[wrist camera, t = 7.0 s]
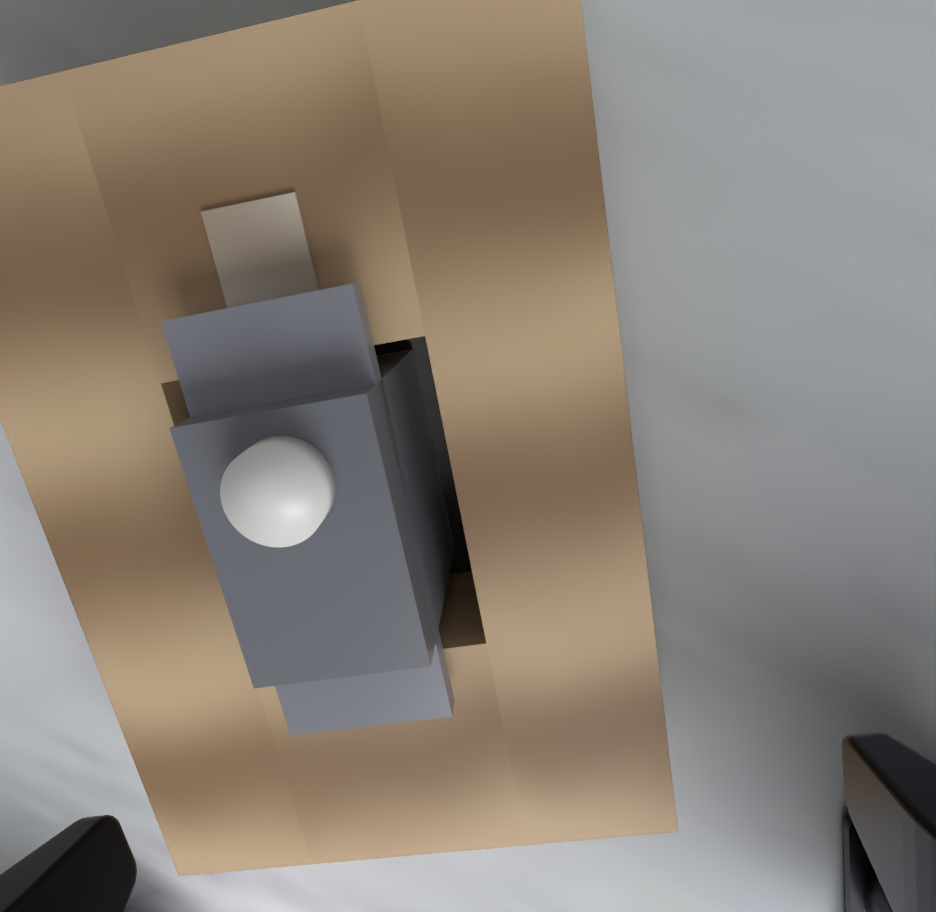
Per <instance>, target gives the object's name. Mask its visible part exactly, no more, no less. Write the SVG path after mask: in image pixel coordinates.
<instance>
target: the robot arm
mask: <svg viewBox="0 0 936 912" xmlns="http://www.w3.org/2000/svg"><path fill="white" fill-rule="evenodd" d="M842 762H843V779H844V795H845V800H846V805H847V808H848V811H849V812H847V813H846V815H845V816H844V819H843V842H844V876H845V910H846V912H936V763H935V762H933V761H932V760H930V759H928V758H927V757H925V756H923V755H921V754H920V753H918V752H916V751H915V750H913V749H911V748H910V747H908V746H906V745H905V744H903V743H901V742H899V741H898V740H896V739H894V738H893V737H891V736H889V735H887V734H885V733H882V732H869V733H860V734H850V735H847V736H846V737H845V738H844V739H843V742H842ZM136 874H137V868H136V862H135V859H134V857H133V854H132V852H131V849H130V847H129V845H128V842H127V840H126V837H125V835H124V833H123V830H122V828H121V825H120V823H119V821H118V820H117V819H116V818H115V817H113V816H110V815H103V816H93V817H86V818H82V819H80V820H78V821H76V822H74V823H73V824H72V825H70V826H69V827H67V828H66V829H64V830H63V831H62V832H60V833H59V834H57V835H56V836H55V837H53V838H52V839H50V840H49V841H48V842H46V843H45V844H43V845H42V846H40V847H39V848H38V849H36V850H35V851H33V852H32V853H31V854H29V855H28V856H26V857H25V858H24V859H22V860H21V861H19V862H18V863H16V864H15V865H14V866H12V867H11V868H9V869H8V870H7V871H5V872H4V873H2V874H1V875H0V912H125V910H126V907H127V905H128V902H129V899H130V896H131V894H132V891H133V888H134V885H135V881H136Z"/></svg>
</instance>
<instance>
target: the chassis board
mask: <svg viewBox="0 0 936 912" xmlns="http://www.w3.org/2000/svg"><path fill="white" fill-rule="evenodd" d="M358 282H360V286H361V290H362V295H363V299H364V304H365V308H366V312H367V317H368V321H369V326H370V330H371V334H372V339H373V343H374V345H378V344H384V343H389V342H395V341H400V340H406V339H412V338H417V337H423V336H425V338H426V343H427V348H428V353H429V358H430V363H431V368H432V373H433V378H434V383H435V388H436V393H437V398H438V403H439V408H440V413H441V418H442V423H443V428H444V433H445V438H446V443H447V448H448V453H449V458H450V463H451V468H452V473H453V478H454V483H455V488H456V493H457V498H458V503H459V508H460V513H461V518H462V524H463V529H464V534H465V539H466V544H467V549H468V554H469V559H470V564H471V569H472V571H470V572H463V573H455V574H449V578H448V583H447V588H446V593H445V598H444V603H443V608H442V613H441V618H440V623H439V628H438V629H439V633H440V638H441V642H442V646H443V651H444V655H445V660H446V664H447V668H448V673H449V677H450V682H451V686H452V690H453V695H454V699H455V702H454V709H453V717H445V718H436V719H427V720H419V721H410V722H402V723H393V724H384V725H376V726H367V727H359V728H350V729H341V730H333V731H324V732H316V733H307V734H298V735H290V732H289V729H288V726H287V723H286V720H285V717H284V713H283V710H282V707H281V704H280V701H279V697H278V694H277V691H276V688H275V686H270V687H262V688H253V685H252V682H251V679H250V676H249V672H248V669H247V666H246V663H245V660H244V657H243V654H242V651H241V648H240V645H239V642H238V639H237V635H236V632H235V629H234V626H233V623H232V620H231V617H230V614H229V611H228V608H227V605H226V602H225V599H224V595H223V592H222V589H221V586H220V583H219V580H218V577H217V574H216V571H215V568H214V565H213V562H212V559H211V555H210V552H209V549H208V546H207V543H206V540H205V537H204V534H203V531H202V528H201V525H200V522H199V518H198V515H197V512H196V509H195V506H194V503H193V500H192V497H191V494H190V491H189V488H188V485H187V482H186V478H185V475H184V472H183V469H182V466H181V463H180V460H179V457H178V454H177V451H176V448H175V445H174V441H173V438H172V435H171V432H170V429H169V428H171V427H173V426H175V425H177V424H179V423H181V422H183V421H185V420H186V419H188V418H190V414H189V411H188V408H187V404H186V401H185V398H184V395H183V392H182V389H181V385H180V382H179V379H178V376H177V373H176V369H175V366H174V363H173V360H172V357H171V353H170V350H169V347H168V344H167V341H166V338H165V334H164V331H163V328H162V325H161V322H160V321H165V320H170V319H175V318H180V317H185V316H190V315H195V314H200V313H205V312H210V311H215V310H221V309H226V308H231V307H236V306H241V305H246V304H251V303H256V302H261V301H266V300H271V299H276V298H281V297H287V296H292V295H297V294H302V293H307V292H312V291H317V290H322V289H327V288H332V287H337V286H342V285H347V284H352V283H358ZM0 420H1V423H2V425H3V428H4V430H5V433H6V435H7V438H8V440H9V443H10V446H11V448H12V451H13V453H14V456H15V458H16V461H17V463H18V466H19V469H20V471H21V474H22V476H23V479H24V481H25V484H26V486H27V489H28V492H29V494H30V497H31V499H32V502H33V504H34V507H35V509H36V512H37V515H38V517H39V520H40V522H41V525H42V527H43V530H44V532H45V535H46V538H47V540H48V543H49V545H50V548H51V550H52V553H53V555H54V558H55V561H56V563H57V566H58V568H59V571H60V573H61V576H62V578H63V581H64V584H65V586H66V589H67V591H68V594H69V596H70V599H71V601H72V604H73V607H74V609H75V612H76V614H77V617H78V619H79V622H80V624H81V627H82V630H83V632H84V635H85V637H86V640H87V642H88V645H89V647H90V650H91V653H92V655H93V658H94V660H95V663H96V665H97V668H98V670H99V673H100V676H101V678H102V681H103V683H104V686H105V688H106V691H107V693H108V696H109V699H110V701H111V704H112V706H113V709H114V711H115V714H116V716H117V719H118V722H119V724H120V727H121V729H122V732H123V734H124V737H125V739H126V742H127V745H128V747H129V750H130V752H131V755H132V757H133V760H134V762H135V765H136V768H137V770H138V773H139V775H140V778H141V780H142V783H143V785H144V788H145V791H146V793H147V796H148V798H149V801H150V803H151V806H152V808H153V811H154V814H155V816H156V819H157V821H158V824H159V826H160V829H161V832H162V834H163V837H164V839H165V842H166V844H167V847H168V849H169V852H170V855H171V857H172V860H173V862H174V865H175V867H176V870H177V872H178V875H179V876H185V875H196V874H207V873H218V872H229V871H241V870H252V869H263V868H274V867H286V866H297V865H308V864H319V863H331V862H342V861H353V860H364V859H376V858H387V857H398V856H409V855H421V854H432V853H443V852H454V851H465V850H477V849H488V848H499V847H510V846H522V845H533V844H544V843H555V842H567V841H578V840H589V839H600V838H612V837H623V836H634V835H645V834H656V833H668V832H678V827H677V818H676V809H675V801H674V792H673V784H672V775H671V767H670V758H669V750H668V741H667V733H666V724H665V716H664V707H663V699H662V690H661V681H660V673H659V664H658V656H657V647H656V639H655V630H654V622H653V613H652V605H651V596H650V588H649V579H648V570H647V562H646V553H645V545H644V536H643V528H642V519H641V511H640V502H639V494H638V485H637V477H636V468H635V460H634V451H633V442H632V434H631V425H630V417H629V408H628V400H627V391H626V383H625V374H624V366H623V357H622V349H621V340H620V331H619V323H618V314H617V306H616V297H615V289H614V280H613V272H612V263H611V255H610V246H609V238H608V229H607V220H606V212H605V203H604V195H603V186H602V178H601V169H600V161H599V152H598V144H597V135H596V127H595V118H594V110H593V101H592V92H591V84H590V75H589V67H588V58H587V50H586V41H585V33H584V24H583V16H582V7H581V0H357V1H353V2H349V3H345V4H340V5H336V6H332V7H328V8H324V9H320V10H315V11H311V12H307V13H303V14H299V15H295V16H290V17H286V18H282V19H278V20H274V21H270V22H265V23H261V24H257V25H253V26H249V27H245V28H240V29H236V30H232V31H228V32H224V33H219V34H215V35H211V36H207V37H203V38H199V39H194V40H190V41H186V42H182V43H178V44H174V45H169V46H165V47H161V48H157V49H153V50H149V51H144V52H140V53H136V54H132V55H128V56H124V57H119V58H115V59H111V60H107V61H103V62H98V63H94V64H90V65H86V66H82V67H78V68H73V69H69V70H65V71H61V72H57V73H53V74H48V75H44V76H40V77H36V78H32V79H28V80H23V81H19V82H15V83H11V84H7V85H3V86H0Z"/></svg>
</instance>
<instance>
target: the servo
mask: <svg viewBox="0 0 936 912" xmlns="http://www.w3.org/2000/svg"><path fill="white" fill-rule="evenodd" d="M160 322H161V325H162V328H163V331H164V334H165V338H166V341H167V344H168V347H169V350H170V353H171V357H172V360H173V363H174V366H175V369H176V373H177V376H178V379H179V382H180V385H181V389H182V392H183V395H184V398H185V401H186V404H187V408H188V411H189V414H190V418H188V419H186V420H185V421H183V422H181V423H179V424H177V425H175V426H173V427H171V428H169V429H170V432H171V435H172V438H173V441H174V445H175V448H176V451H177V454H178V457H179V460H180V463H181V466H182V469H183V472H184V475H185V478H186V482H187V485H188V488H189V491H190V494H191V497H192V500H193V503H194V506H195V509H196V512H197V515H198V518H199V522H200V525H201V528H202V531H203V534H204V537H205V540H206V543H207V546H208V549H209V552H210V555H211V559H212V562H213V565H214V568H215V571H216V574H217V577H218V580H219V583H220V586H221V589H222V592H223V595H224V599H225V602H226V605H227V608H228V611H229V614H230V617H231V620H232V623H233V626H234V629H235V632H236V635H237V639H238V642H239V645H240V648H241V651H242V654H243V657H244V660H245V663H246V666H247V669H248V672H249V676H250V679H251V682H252V685H253V688H262V687H270V686H275V688H276V691H277V694H278V697H279V701H280V704H281V707H282V710H283V713H284V717H285V720H286V723H287V726H288V729H289V732H290V735H298V734H307V733H316V732H324V731H333V730H341V729H350V728H359V727H367V726H376V725H384V724H393V723H402V722H410V721H419V720H427V719H436V718H445V717H453V709H454V702H455V699H454V695H453V690H452V686H451V682H450V677H449V673H448V668H447V664H446V660H445V655H444V651H443V646H442V642H441V638H440V633H439V629H438V628H439V623H440V618H441V613H442V608H443V603H444V598H445V593H446V588H447V583H448V578H449V573H450V568H451V563H452V558H453V553H454V548H455V547H454V542H453V538H452V533H451V528H450V523H449V519H448V514H447V509H446V505H445V500H444V495H443V490H442V486H441V481H440V476H439V472H438V467H437V462H436V457H435V453H434V448H433V443H432V438H431V434H430V429H429V424H428V420H427V415H426V410H425V405H424V401H423V396H422V391H421V387H420V382H419V377H418V372H417V368H416V363H415V358H414V354H413V349H410V350H405V351H399V352H394V353H389V354H383V355H378V356H376V352H375V348H374V343H373V339H372V334H371V330H370V326H369V321H368V317H367V312H366V308H365V304H364V299H363V295H362V290H361V286H360V282H358V283H352V284H347V285H342V286H337V287H332V288H327V289H322V290H317V291H312V292H307V293H302V294H297V295H292V296H287V297H281V298H276V299H271V300H266V301H261V302H256V303H251V304H246V305H241V306H236V307H231V308H226V309H221V310H215V311H210V312H205V313H200V314H195V315H190V316H185V317H180V318H175V319H170V320H165V321H160Z"/></svg>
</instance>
